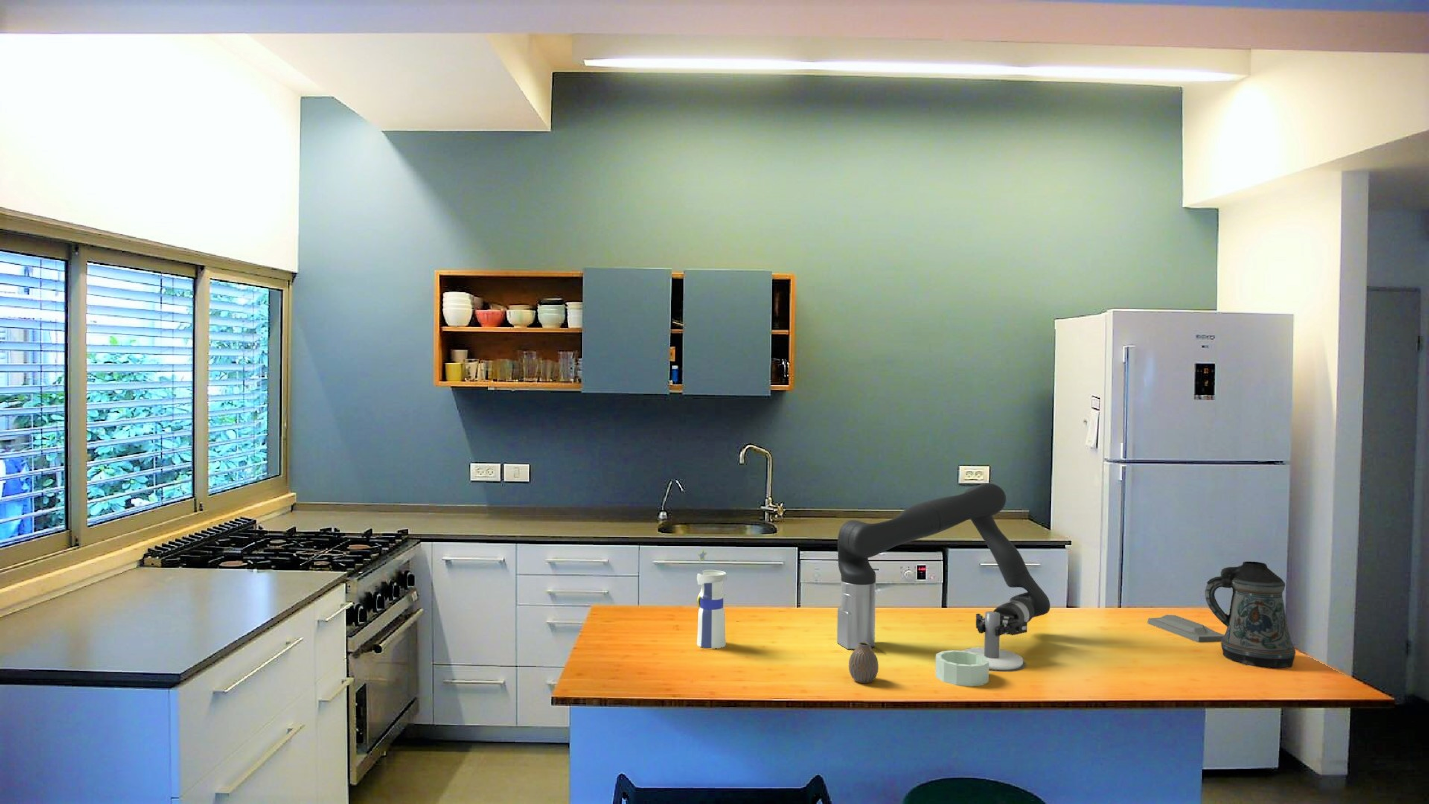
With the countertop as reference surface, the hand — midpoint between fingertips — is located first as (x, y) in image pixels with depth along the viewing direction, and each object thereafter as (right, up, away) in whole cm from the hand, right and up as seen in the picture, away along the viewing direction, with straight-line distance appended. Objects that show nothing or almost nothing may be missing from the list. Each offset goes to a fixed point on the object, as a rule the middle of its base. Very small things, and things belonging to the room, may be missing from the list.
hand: (988, 630), depth 217 cm
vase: (-34, -9, -12) cm, 37 cm away
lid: (+1, -8, +2) cm, 9 cm away
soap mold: (+68, -10, +34) cm, 77 cm away
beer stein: (+71, -10, +8) cm, 72 cm away
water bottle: (-70, -8, +15) cm, 72 cm away
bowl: (-10, -9, -10) cm, 17 cm away
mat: (+2, -9, +2) cm, 9 cm away
